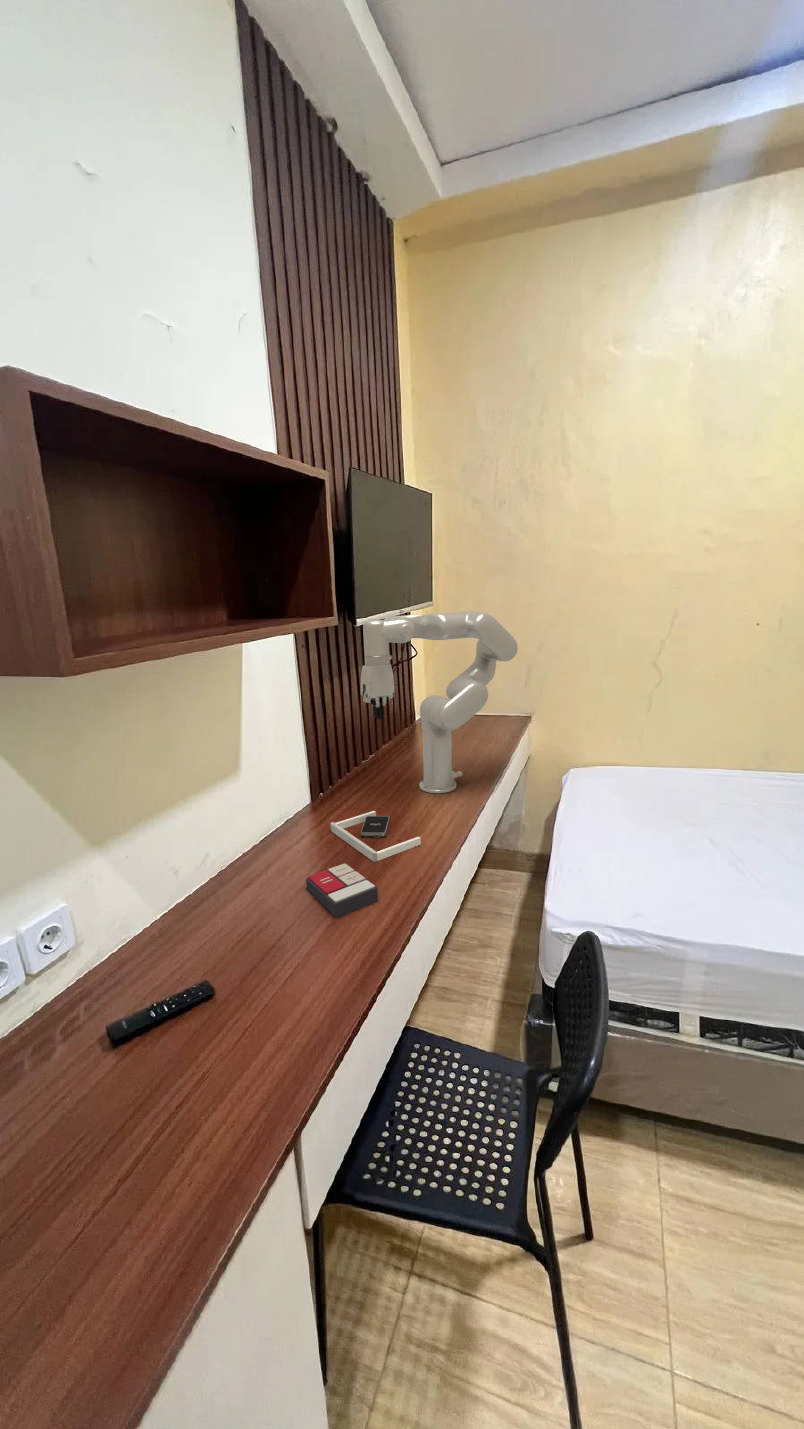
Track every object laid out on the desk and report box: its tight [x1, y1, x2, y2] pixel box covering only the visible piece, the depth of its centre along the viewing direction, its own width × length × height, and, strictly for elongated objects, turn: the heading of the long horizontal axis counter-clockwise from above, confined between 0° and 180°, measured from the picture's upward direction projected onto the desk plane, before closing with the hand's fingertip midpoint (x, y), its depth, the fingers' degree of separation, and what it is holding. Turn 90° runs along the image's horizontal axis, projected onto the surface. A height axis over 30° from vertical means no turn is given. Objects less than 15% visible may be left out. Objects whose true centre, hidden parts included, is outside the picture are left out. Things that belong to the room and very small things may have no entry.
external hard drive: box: [360, 815, 390, 839], centre depth 163 cm, size 7×11×2 cm, turn 175°
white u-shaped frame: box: [329, 810, 422, 863], centre depth 157 cm, size 15×23×2 cm, turn 36°
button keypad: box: [305, 863, 379, 919], centre depth 130 cm, size 11×4×15 cm
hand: (379, 718), depth 178 cm, fingers closed
